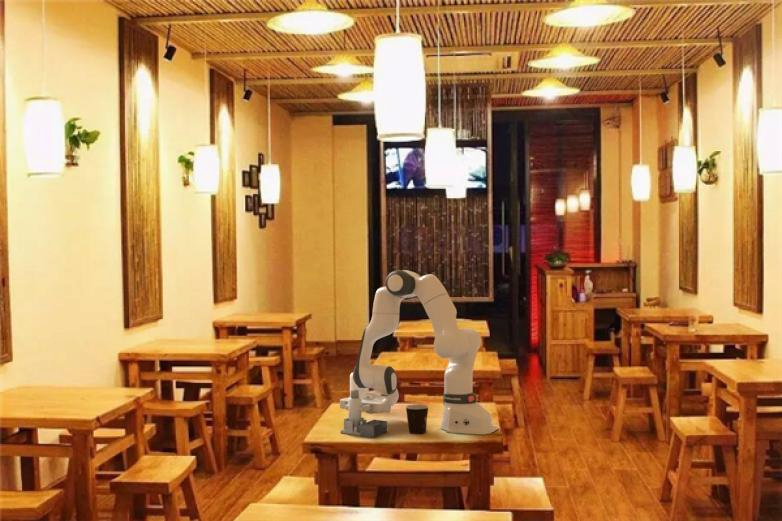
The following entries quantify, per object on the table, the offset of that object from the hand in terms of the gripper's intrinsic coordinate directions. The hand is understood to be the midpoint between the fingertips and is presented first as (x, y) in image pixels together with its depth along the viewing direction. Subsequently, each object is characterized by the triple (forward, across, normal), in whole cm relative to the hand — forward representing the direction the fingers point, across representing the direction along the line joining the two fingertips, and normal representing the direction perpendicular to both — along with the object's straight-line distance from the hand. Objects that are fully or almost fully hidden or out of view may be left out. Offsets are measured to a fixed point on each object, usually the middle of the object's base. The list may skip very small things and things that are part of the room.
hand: (353, 408), depth 340 cm
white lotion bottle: (-1, 0, +7) cm, 7 cm away
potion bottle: (-42, -24, +10) cm, 49 cm away
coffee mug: (-10, +22, +10) cm, 26 cm away
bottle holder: (-1, +4, +10) cm, 11 cm away
